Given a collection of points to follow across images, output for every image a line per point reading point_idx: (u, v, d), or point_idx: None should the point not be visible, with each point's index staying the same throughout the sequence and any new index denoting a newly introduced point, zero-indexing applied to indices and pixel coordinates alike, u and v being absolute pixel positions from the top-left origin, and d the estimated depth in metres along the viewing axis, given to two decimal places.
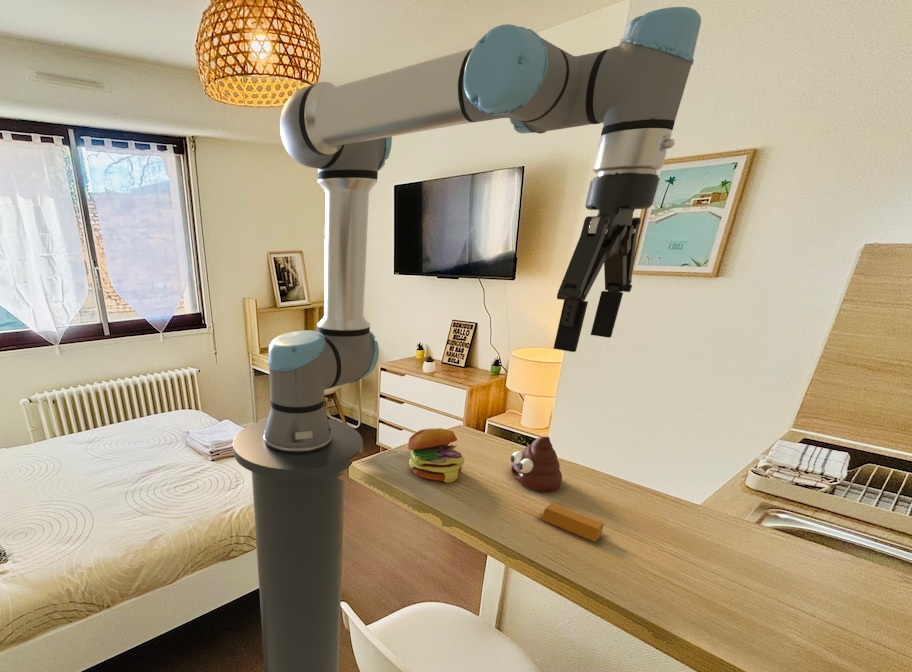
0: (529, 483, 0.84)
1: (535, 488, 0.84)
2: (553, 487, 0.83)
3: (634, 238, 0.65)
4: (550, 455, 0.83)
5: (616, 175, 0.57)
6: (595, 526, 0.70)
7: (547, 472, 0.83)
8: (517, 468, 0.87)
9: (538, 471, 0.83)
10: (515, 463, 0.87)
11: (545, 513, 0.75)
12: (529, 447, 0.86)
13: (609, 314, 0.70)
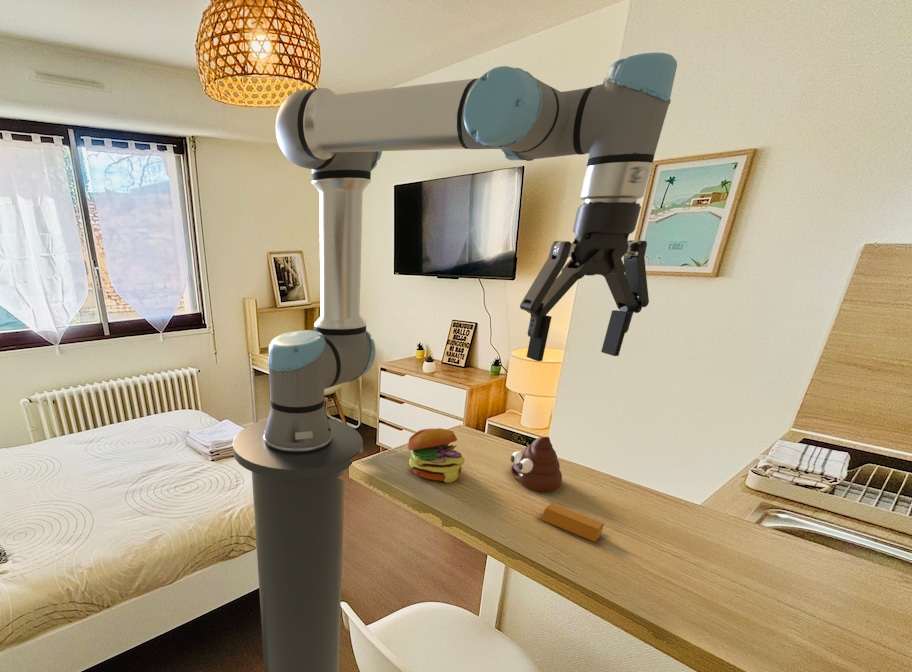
0: (529, 483, 0.84)
1: (535, 488, 0.84)
2: (553, 487, 0.83)
3: (639, 260, 0.67)
4: (550, 455, 0.83)
5: (588, 204, 0.63)
6: (595, 526, 0.70)
7: (547, 472, 0.83)
8: (517, 468, 0.87)
9: (538, 471, 0.83)
10: (515, 463, 0.87)
11: (545, 513, 0.75)
12: (529, 447, 0.86)
13: (616, 333, 0.72)
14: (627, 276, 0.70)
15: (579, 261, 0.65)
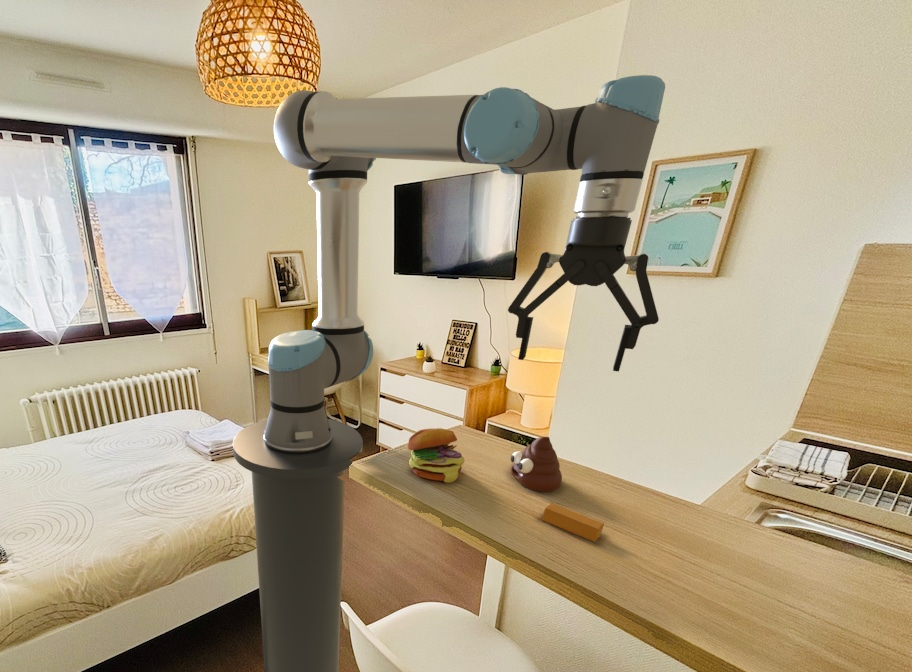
0: (529, 483, 0.84)
1: (535, 488, 0.84)
2: (553, 487, 0.83)
3: (639, 274, 0.65)
4: (550, 455, 0.83)
5: (574, 218, 0.67)
6: (595, 526, 0.70)
7: (547, 472, 0.83)
8: (517, 468, 0.87)
9: (538, 471, 0.83)
10: (515, 463, 0.87)
11: (545, 513, 0.75)
12: (529, 447, 0.86)
13: (619, 348, 0.70)
14: None
15: None
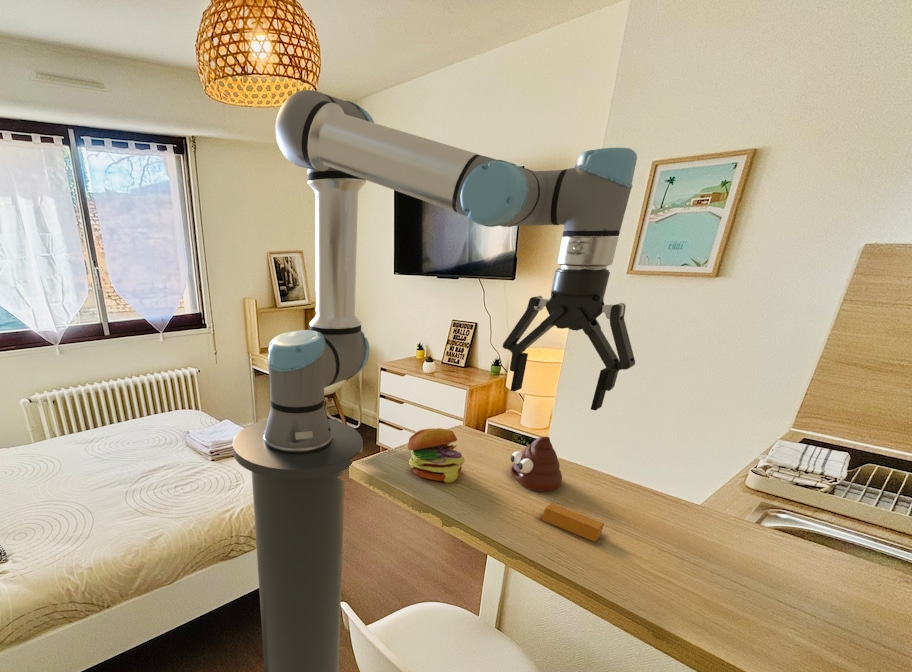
0: (529, 483, 0.84)
1: (535, 488, 0.84)
2: (553, 487, 0.83)
3: (612, 322, 0.70)
4: (550, 455, 0.83)
5: (559, 268, 0.74)
6: (595, 526, 0.70)
7: (547, 472, 0.83)
8: (517, 468, 0.87)
9: (538, 471, 0.83)
10: (515, 463, 0.87)
11: (545, 513, 0.75)
12: (529, 447, 0.86)
13: None
14: None
15: (549, 314, 0.77)
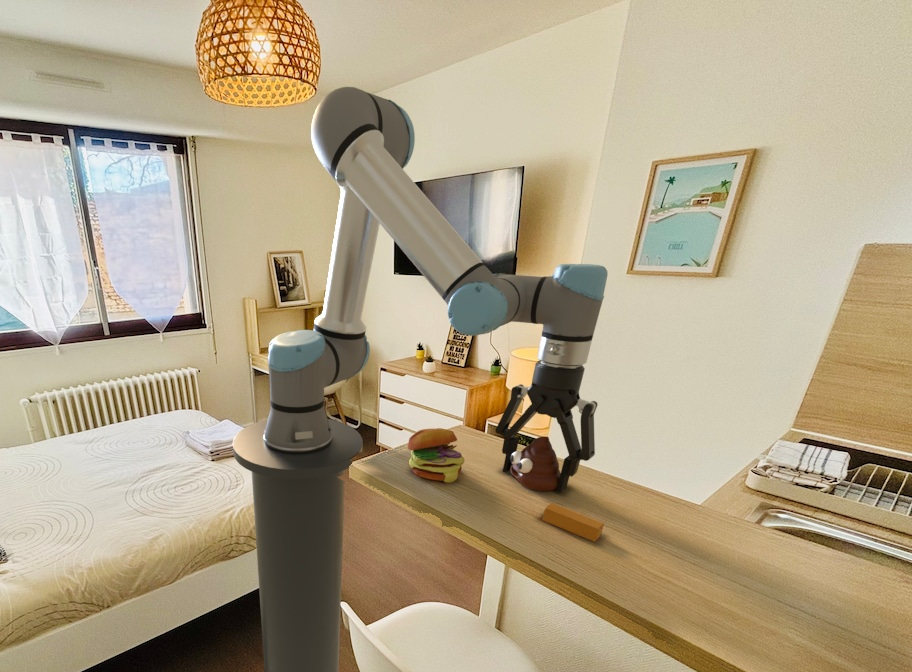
0: (528, 483, 0.84)
1: (534, 488, 0.84)
2: (552, 487, 0.83)
3: (582, 418, 0.77)
4: (549, 455, 0.83)
5: None
6: (595, 526, 0.70)
7: (546, 472, 0.83)
8: (516, 468, 0.87)
9: (537, 471, 0.84)
10: (514, 463, 0.87)
11: (545, 513, 0.75)
12: (528, 447, 0.86)
13: None
14: None
15: (530, 400, 0.83)
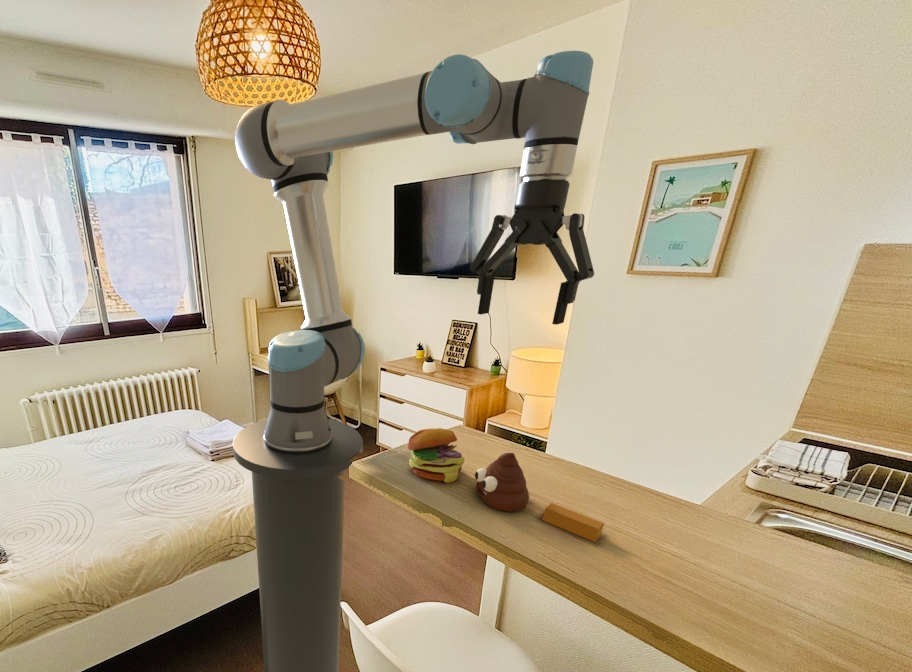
0: (493, 502, 0.78)
1: (499, 508, 0.78)
2: (518, 507, 0.77)
3: (571, 232, 0.72)
4: (515, 473, 0.77)
5: None
6: (595, 526, 0.70)
7: (512, 491, 0.77)
8: (481, 486, 0.81)
9: (502, 490, 0.78)
10: (479, 480, 0.81)
11: (545, 513, 0.75)
12: (494, 463, 0.80)
13: None
14: None
15: None
